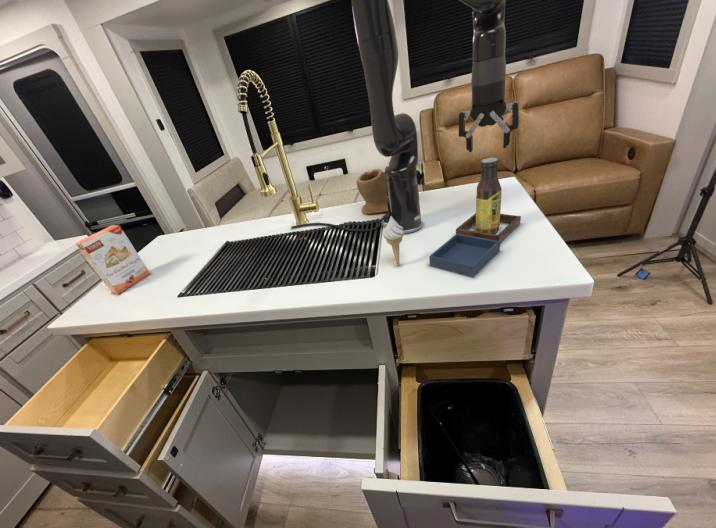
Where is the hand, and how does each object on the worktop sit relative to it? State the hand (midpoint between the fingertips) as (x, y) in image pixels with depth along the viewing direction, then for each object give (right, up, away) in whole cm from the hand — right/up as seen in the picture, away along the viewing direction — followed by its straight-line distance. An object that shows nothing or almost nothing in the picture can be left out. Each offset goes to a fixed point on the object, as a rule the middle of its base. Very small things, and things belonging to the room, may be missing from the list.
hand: (487, 149), depth 92 cm
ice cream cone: (-24, -31, +2) cm, 39 cm away
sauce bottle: (+3, -21, +6) cm, 22 cm away
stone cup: (-24, -7, +36) cm, 44 cm away
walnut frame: (+3, -21, +6) cm, 22 cm away
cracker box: (-118, -35, +37) cm, 129 cm away
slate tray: (-7, -30, -3) cm, 31 cm away
